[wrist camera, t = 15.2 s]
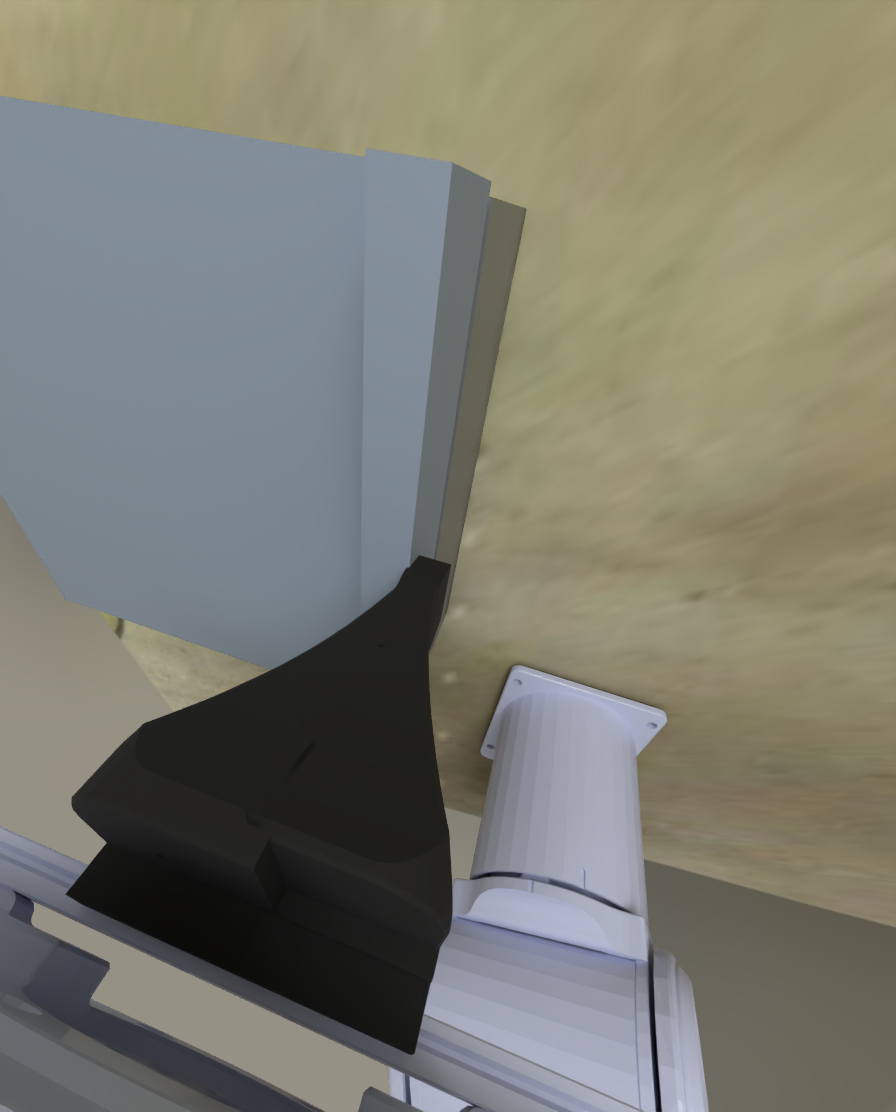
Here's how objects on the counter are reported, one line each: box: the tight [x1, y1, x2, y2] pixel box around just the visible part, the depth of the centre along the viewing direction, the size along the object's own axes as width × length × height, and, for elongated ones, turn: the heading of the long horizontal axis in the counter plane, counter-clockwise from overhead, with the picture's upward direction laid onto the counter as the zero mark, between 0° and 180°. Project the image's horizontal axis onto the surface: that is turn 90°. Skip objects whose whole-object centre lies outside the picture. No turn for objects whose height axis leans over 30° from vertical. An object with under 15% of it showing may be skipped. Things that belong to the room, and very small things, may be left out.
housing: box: [429, 197, 526, 655], centre depth 16 cm, size 16×16×5 cm
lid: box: [0, 96, 491, 670], centre depth 13 cm, size 16×16×3 cm
